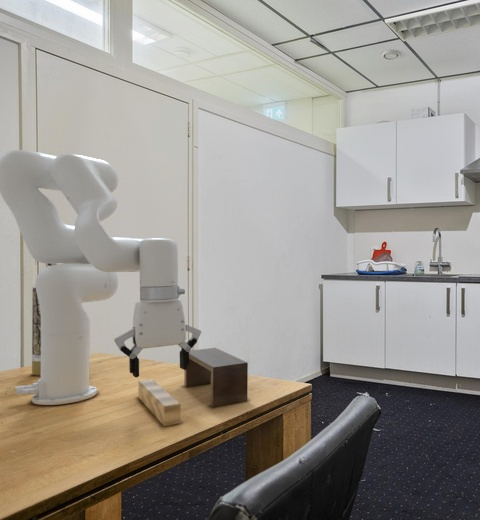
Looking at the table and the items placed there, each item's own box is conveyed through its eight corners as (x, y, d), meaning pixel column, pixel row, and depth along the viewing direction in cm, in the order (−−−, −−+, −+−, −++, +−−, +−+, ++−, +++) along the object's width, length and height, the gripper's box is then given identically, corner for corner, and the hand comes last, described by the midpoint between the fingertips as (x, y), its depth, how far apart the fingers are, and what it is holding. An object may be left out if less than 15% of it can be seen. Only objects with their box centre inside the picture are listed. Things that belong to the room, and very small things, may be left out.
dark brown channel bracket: (212, 407, 104) (213, 367, 104) (184, 385, 121) (184, 351, 121) (247, 400, 109) (247, 362, 109) (215, 380, 126) (215, 347, 126)
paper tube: (45, 377, 128) (46, 286, 128) (25, 375, 129) (26, 285, 129) (67, 371, 135) (68, 284, 134) (48, 369, 136) (48, 284, 136)
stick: (180, 423, 94) (180, 403, 94) (164, 426, 92) (164, 406, 92) (152, 395, 113) (152, 378, 113) (138, 397, 111) (138, 380, 111)
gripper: (194, 291, 111) (195, 363, 111) (111, 296, 100) (112, 375, 100) (205, 293, 105) (206, 369, 105) (117, 297, 94) (118, 382, 94)
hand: (160, 372), depth 102 cm, fingers open, 9 cm apart
